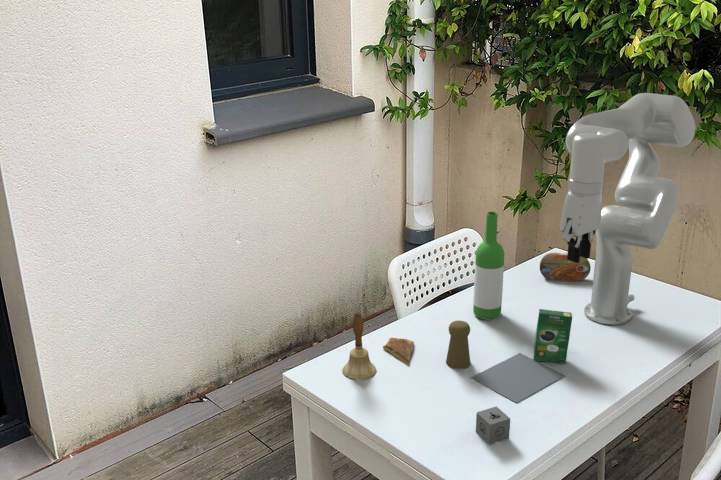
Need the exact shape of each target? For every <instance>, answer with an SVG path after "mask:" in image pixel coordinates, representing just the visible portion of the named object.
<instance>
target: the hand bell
mask: <svg viewBox="0 0 721 480" xmlns="http://www.w3.org/2000/svg"><path fill="white" fill-rule="evenodd" d="M353 315H354V316H353V319H352V330H353V333H354V339H355V340H354V342H355V343H354V345H355V347H354V348H352V349H351V350H350V351H349V357H348V361H347V362H346V363H345V364H344V366H343V367H342V369H341V370H342V374H343V375H344V376H345V377H346V376H347V377H346V378H348V377H349V379H350V378H353V379H352V380H355V379H363V380H366V379H365V378H368V379H370V378H372V377H373V376H375V375H376V373H377V367H376V366H375V365H374V363H372V361H371V359H370V356H369V350H368V349H367V348H365V347H363V339H362V336H363V332H364V319H363V317H362V313H361V312H360V311H355V312H354V314H353ZM374 374H375V375H374Z"/></svg>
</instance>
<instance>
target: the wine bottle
mask: <svg viewBox="0 0 721 480" xmlns="http://www.w3.org/2000/svg"><path fill="white" fill-rule="evenodd" d="M498 215H499V214H498V213H497V212H496V211H488V212H486V216H485V217H486V219H485V237H484V238H485V239H484V240H483V241H482V242H481V243H480V244H479V245H478V246H477V249H476V252H475V259H474V260H475V261H474V278H473V281H474V282H473V283H474V284H473V303H472V304H473V307H472V311H473V314H474V315H475V317H476V318H478V319H481V320H482V319H483V320H495V319H498V318H499V317H500V316H501V314H502V306H503V305H502V304H503V290H504V289H503V287H504V286H503V285H504V270H505V250H504V248H503V246H502V245H501V243H500V242H498V240H497V237H498V236H497V235H498V233H497V232H498V217H499V216H498Z"/></svg>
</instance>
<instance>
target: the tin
mask: <svg viewBox="0 0 721 480" xmlns="http://www.w3.org/2000/svg"><path fill="white" fill-rule="evenodd" d="M567 255H568V252H566V253H565V252H549V253H547V254H544V255H543V256H542V258H541V260H540V262H539V272H540V274H541V275H542V276H543V278H545V279H547V280H549V281H561V282H562V281H565V282H580V281H583V280H585V279H586V278H588V276H589V275H590V273H591V263H590V261H589V260H588V259H587V258H584V257H581V256H580V262H579V263H575V262H573V261H570V260H568V259H567Z"/></svg>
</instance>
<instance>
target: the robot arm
mask: <svg viewBox="0 0 721 480" xmlns="http://www.w3.org/2000/svg"><path fill="white" fill-rule="evenodd" d="M695 133H696V122H695V118H694V117H693V114H692V112H691V110H690V108H689V106H688V104H687V103H686V101H684V99H682V98H681V97H680V96H678V95H671V94H669V95H668V94H660V93H652V92H651V93H650V92H641V93H640V92H639V93H637V94H635V95H633V96H632V97H630V98H629V99H628V100H627V101H626V102H624V103H623V104H622V105H620V106H619V107H618V108H615V109H609V110H604V111H598V112H594V113H590V114H588V115H585V116H583V117H581V118H580V119H578V120H577V121H576V122H574V123H573V125H572V126H571V127H570V128H569V130H568V131H567V133H566V137H565V147H566V149H567V151H568V152H569V153H570V154H571V156H570V158H571V159H570V169H569V170H570V171H569V178H568V191H567V193H566V195H565V199H564V202H563V208H562V214H561V220H560V232H561V233H563V234H562V235H561V240H563V241H565V242H566V245H567V246H568V247H567V253H568V255H567V259H568V260H570V261H573V262H575V263H579V262H580V256H581V257H584V258H587V260H588V259H590V257H591V250H592V242H593V241H594V236H595V235H596V249H595V250H596V251H595V261H594V269H593V270H594V271H593V281H592V287H591V288H592V290H591V300H590V303H588V304H586V305H585V307H584V309H583V313H584V315H585V316H586V317H587V318H588V319H589V320H591V321H593V322H596V323H597V324H603V325H611V326H612V325H614V326H615V325H616V326H617V325H618V326H619V325H623V324H626V323H628V322H630V321H631V320H632V317H633V313H632V311H631V310H630V309H629V308H628V305H629V303H631V302H634V300H635V299H636V297H635V295H634V294H629V292H630V285H631V284H630V283H631V277H632V267H633V261H634V259H633V252H632V251H631V248H630V246H632V247H637V248H642V249H647V250H654V249H657V248H658V247H659V246H660V245H661V243H662V242H663V240H664V238H665V235H666V232H667V230H668V228H669V226H670V223H671V220H672V219H673V216H674V213H675V211H676V208H677V206H678V203H679V198H680V188H679V185H678V183H677V182H676V181H675V180H673V179H669V178H666V177H662V176H661V177H660V176H659V177H658V175H659V172H660V170H661V168H662V167H661V166H662V165H661V163H662V162H661V159H660V157H659V155H658V154H657V152H656V150H655V149H654V148H653V145H652V144H655V145H661V146H669V147H670V146H671V147H676V148H683V147H687V146H688V145H689V144H691V143H692V141H693V139H694V138H695ZM627 151H629V153H628V160H627V162H626V165H625V167H624V170H623V172H622V174H621V177H620V178H619V181H618V183H617V185H616V188H615V191H614V199H615V203H618V205H616V204H611V205H610V204H608V205H605V206H603V205H602V203H603V202H602V201H603V199H602V198H603V197H602V193H603V183H604V181H603V180H604V172H605V164H606V163H609V162H616V161H619V160H620V159H621V158H623V157H624V156H625V155H626V153H627Z"/></svg>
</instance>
